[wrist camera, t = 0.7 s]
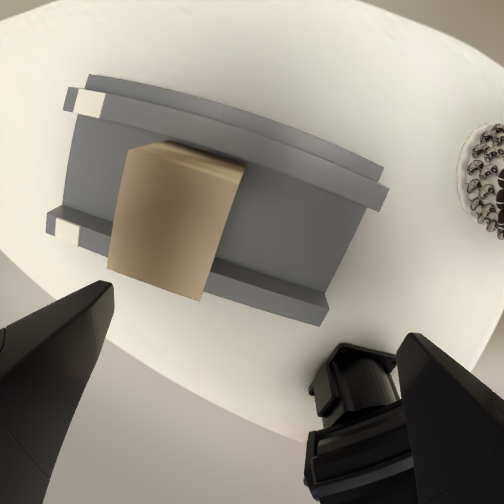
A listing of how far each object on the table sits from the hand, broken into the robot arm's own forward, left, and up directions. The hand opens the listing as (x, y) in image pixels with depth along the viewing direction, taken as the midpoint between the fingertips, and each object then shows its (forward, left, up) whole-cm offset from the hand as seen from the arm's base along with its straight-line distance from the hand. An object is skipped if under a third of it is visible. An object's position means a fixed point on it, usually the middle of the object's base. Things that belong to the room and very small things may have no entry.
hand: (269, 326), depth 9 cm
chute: (+4, +1, -13) cm, 13 cm away
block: (+5, +1, -12) cm, 13 cm away
